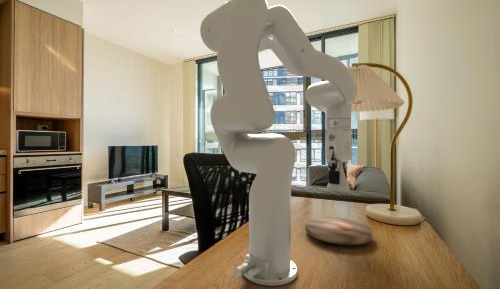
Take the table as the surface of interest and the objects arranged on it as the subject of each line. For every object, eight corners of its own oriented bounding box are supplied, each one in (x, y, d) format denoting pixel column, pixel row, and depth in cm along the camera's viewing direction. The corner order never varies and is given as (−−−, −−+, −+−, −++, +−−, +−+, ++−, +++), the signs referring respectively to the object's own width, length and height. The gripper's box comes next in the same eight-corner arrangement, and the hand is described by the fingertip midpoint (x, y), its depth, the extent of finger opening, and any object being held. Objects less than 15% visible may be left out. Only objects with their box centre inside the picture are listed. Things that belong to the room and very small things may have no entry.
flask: (352, 192, 76) (352, 159, 76) (327, 191, 77) (327, 159, 77) (348, 188, 83) (348, 158, 83) (325, 187, 84) (325, 157, 84)
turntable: (359, 251, 66) (359, 243, 66) (293, 232, 79) (293, 226, 79) (380, 231, 81) (380, 225, 81) (321, 218, 94) (321, 213, 94)
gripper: (339, 123, 71) (339, 187, 71) (359, 126, 84) (359, 181, 84) (314, 124, 76) (314, 184, 76) (337, 127, 89) (337, 179, 89)
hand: (338, 182), depth 80 cm, fingers closed on flask, 5 cm apart
